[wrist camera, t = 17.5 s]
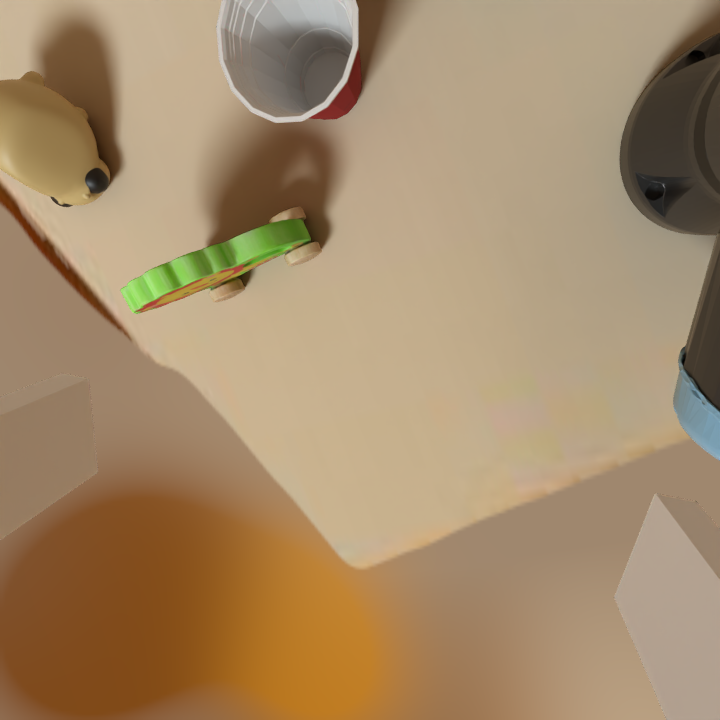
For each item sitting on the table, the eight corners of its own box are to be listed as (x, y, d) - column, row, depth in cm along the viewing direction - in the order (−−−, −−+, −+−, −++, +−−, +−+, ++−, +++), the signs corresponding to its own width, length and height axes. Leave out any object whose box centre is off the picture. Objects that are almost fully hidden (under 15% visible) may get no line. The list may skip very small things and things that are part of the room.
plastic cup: (263, 38, 41) (191, -33, 29) (375, 0, 38) (341, -94, 27) (290, 161, 43) (232, 138, 32) (395, 134, 41) (372, 99, 30)
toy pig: (74, 169, 52) (47, 238, 48) (-34, 72, 42) (-82, 148, 38) (139, 147, 50) (117, 218, 45) (41, 38, 39) (-2, 114, 35)
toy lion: (306, 203, 44) (237, 193, 30) (328, 253, 45) (271, 265, 31) (187, 265, 49) (79, 281, 35) (209, 308, 50) (113, 342, 36)
